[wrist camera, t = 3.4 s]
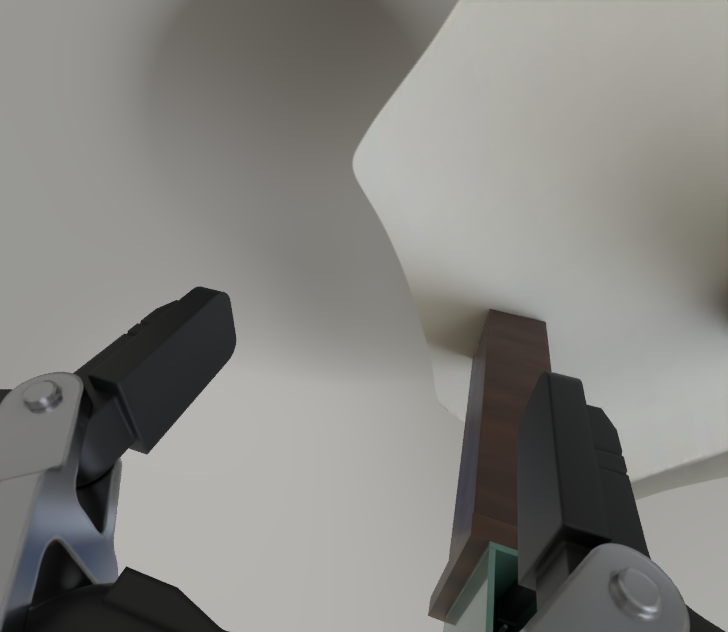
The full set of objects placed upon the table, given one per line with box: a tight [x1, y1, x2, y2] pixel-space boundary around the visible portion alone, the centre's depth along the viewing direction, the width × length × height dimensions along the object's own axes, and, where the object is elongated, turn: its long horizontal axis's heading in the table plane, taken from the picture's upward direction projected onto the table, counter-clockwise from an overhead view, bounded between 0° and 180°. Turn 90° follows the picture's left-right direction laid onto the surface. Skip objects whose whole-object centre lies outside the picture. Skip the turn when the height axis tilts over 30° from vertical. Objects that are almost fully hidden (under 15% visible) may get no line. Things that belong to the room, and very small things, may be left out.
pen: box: [493, 577, 537, 632], centre depth 25 cm, size 21×1×2 cm, turn 174°
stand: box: [428, 309, 551, 622], centre depth 42 cm, size 15×8×32 cm, turn 174°
